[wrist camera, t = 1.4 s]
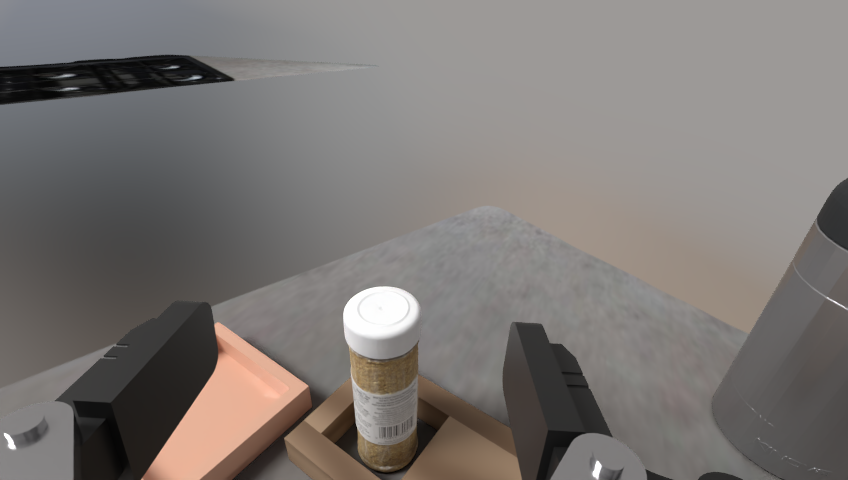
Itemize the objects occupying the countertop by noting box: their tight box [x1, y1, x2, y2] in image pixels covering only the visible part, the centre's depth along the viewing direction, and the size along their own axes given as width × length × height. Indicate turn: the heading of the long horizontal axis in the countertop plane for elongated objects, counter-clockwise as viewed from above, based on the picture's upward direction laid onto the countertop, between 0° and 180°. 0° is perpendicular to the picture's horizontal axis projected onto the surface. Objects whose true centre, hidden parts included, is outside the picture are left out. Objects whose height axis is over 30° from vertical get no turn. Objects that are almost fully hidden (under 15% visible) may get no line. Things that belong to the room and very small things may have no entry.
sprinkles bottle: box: [343, 287, 421, 472], centre depth 28 cm, size 5×5×13 cm
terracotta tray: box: [141, 322, 312, 480], centre depth 33 cm, size 12×12×2 cm
